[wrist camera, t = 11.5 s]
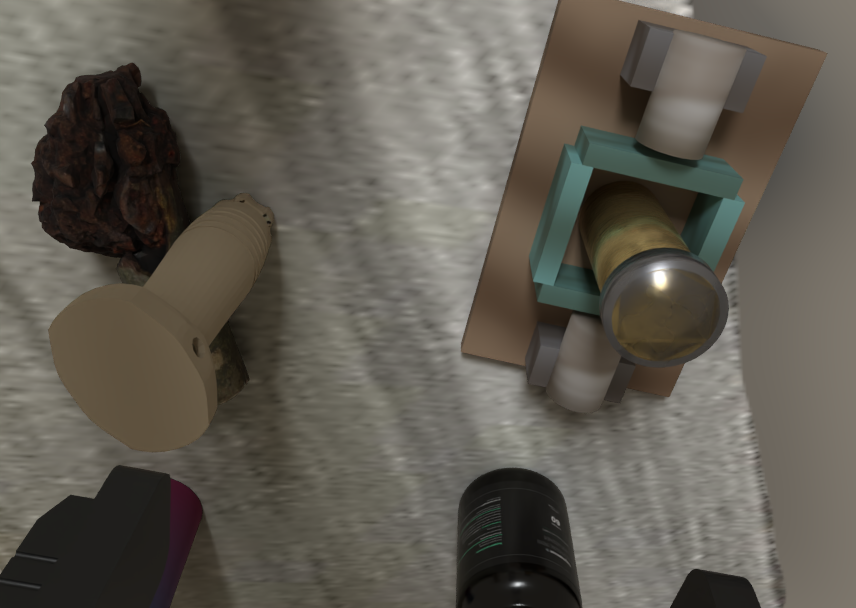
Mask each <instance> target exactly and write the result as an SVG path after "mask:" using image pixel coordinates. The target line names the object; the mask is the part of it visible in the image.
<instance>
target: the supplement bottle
mask: <svg viewBox="0 0 856 608" xmlns="http://www.w3.org/2000/svg"><path fill="white" fill-rule="evenodd" d="M456 608H582V600H581V594H580V587H579V581H578V575H577V568H576V562H575V556H574V549H573V543H572V537H571V531H570V524H569V518H568V513H567V507H566V503H565V500H564V497H563V495H562V493H561V491H560V490H559V489H558V487H557V486H556V485H555V484H554V483H553V482H552V481H551V480H549V479H548V478H546V477H545V476H543V475H541V474H539V473H537V472H534V471H531V470H527V469H522V468H502V469H497V470H494V471H491V472H488V473H486V474H484V475H482V476H480V477H478V478H477V479H476V480H474V481H473V482H472V483H471V484H470V485H469V486H468V487H467V489H466V490H465V491H464V493H463V495H462V497H461V500H460V503H459V510H458V539H457V581H456Z"/></svg>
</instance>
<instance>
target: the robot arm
mask: <svg viewBox="0 0 856 608" xmlns="http://www.w3.org/2000/svg"><path fill="white" fill-rule="evenodd" d="M170 502H171V479H170V475H169V474H167V473H161V472H155V471H150V470H144V469H138V468H133V467H127V466H121V465H118V466H116V467H115V468H114V469H113V470H112V471H111V473H110V474H109V476H108V477H107V479H106V481H105V482H104V484H103V486H102V487H101V489H100V491H99V492H98V494H97V496H96V497H95V499H92V498H86V497H80V496H75V495H70V496H68V497H67V498H66V499H64V500H63V501H62V502H60V503H59V504H58V505H56V506H55V507H53V508H52V509H51V510H49V511H48V512H47V513H45V514H44V515H43V516H41V517H40V518H39V519H38V520H37V521H36V522H35V524H34V525H33V527H32V528H31V530H30V531H29V533H28V534H27V536H26V537H25V539H24V540H23V542H22V543H21V545H20V546H19V547H18V549H17V550H16V555H15V557H12V558H11V559H10V561H9V562H8V564H7V565H6V567H5V568H4V570H3V571H2V573H1V574H0V608H149V607H150V605H151V603H152V600H153V598H154V596H155V594H156V591H157V589H158V587H159V584H160V582H161V579H162V576H163V573H164V569H165V566H166V562H167V557H168V552H169V544H170ZM670 608H761V607H760V604H759V602H758V599H757V597H756V594H755V591H754V589H753V587H752V585H751V584H750V582H749V581H748V580H747V579H746V578H744V577H740V576H734V575H728V574H723V573H717V572H711V571H706V570H700V569H694V570H692V571H691V572H690V573H689V574H688V576H687V577H686V579H685V581H684V583H683V585H682V586H681V588H680V590H679V592H678V594H677V596H676V598H675V599H674V601H673V603H672V605H671V607H670Z"/></svg>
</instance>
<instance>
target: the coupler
mask: <svg viewBox="0 0 856 608" xmlns="http://www.w3.org/2000/svg"><path fill="white" fill-rule="evenodd" d="M579 229H580V233H581V236H582V239H583V242H584V245H585V248H586V251H587V254H588V257H589V260H590V263H591V266H592V269H593V272H594V275H595V278H596V281H597V284H598V287H599V290H600V293H601V294H600V299H599V312H600V317H601V320H602V323H603V327H604V330H605V333H606V336H607V338H608V340H609V342H610V344H611V345H612V347H613V348H614V349H615V350H616V351H617V352H618V353H619V354H620V355H621V356H622V357H624V358H625V359H627V360H629V361H631V362H633V363H635V364H638V365H642V366H646V367H655V368H663V367H671V366H676V365H680V364H683V363H686V362H688V361H691V360H693V359H695V358H697V357H698V356H700V355H701V354H703V353H704V352H705V351H707V350H708V349H709V348H710V347H711V346H712V345H713V344H714V343H715V342H716V340H717V339H718V338H719V336H720V335H721V333H722V331H723V330H724V327H725V325H726V322H727V318H728V310H729V306H728V299H727V294H726V292H725V290H724V287H723V286H722V284H721V283H720V281H719V280H718V278H717V277H716V275H715V274H714V272H713V271H712V269H711V268H710V267H709V265H708V264H707V263H706V262H705V261H704V260H702V259H701V258H700V257H698V256H697V255H695V254H693V253H691V252H690V250H689V248H688V247H687V245H686V244H685V242H684V241H683V239H682V238H681V236H680V234H679V233H678V231H677V230H676V228H675V227H674V225H673V223H672V222H671V220H670V219H669V217H668V216H667V214H666V212H665V211H664V209H663V208H662V206H661V205H660V203H659V202H658V200H657V198H656V197H655V195H654V194H653V193H652V192H651V191H650V190H649V189H648V188H646V187H645V186H643V185H641V184H639V183H636V182H632V181H615V182H611V183H608V184H605V185H603V186H601V187H600V188H598V189H596V190H595V191H594V192H593V193H592V194H591V195H590V196H589V197H588V198H587V199H586V201H585V202H584V204H583V206H582V208H581V211H580V215H579Z"/></svg>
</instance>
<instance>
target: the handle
mask: <svg viewBox="0 0 856 608" xmlns="http://www.w3.org/2000/svg"><path fill="white" fill-rule="evenodd" d="M273 221H274V215H273V212H272V211H271V209H270V208H269V207H264V206H262V205H260V204H258V203H257V202H256V201H255V200H253V198H252V197H251V195H250V194H247V193H240V194H239V195H237V196H236V197H235V198H234V199H231V200H221V201H219V202H218V203H217V204H215V205H214V206H213V207H212V208H211V209H209V210H208V211H206V212H205V213H204V214H202V215H201V216H200V217H198V218H197V219H196V220H195V221H194V222H192V223H191V224H190V225H189V226H188V227H187V228H186V230H185V231H184V232H183V233H182V234H181V235H180V236H179V237H178V239H177V240H176V241H175V242H174V244H173V245H172V247H171V248H170V249H169V251H168V252H167V254H166V255H165V257H164V258H163V260H162V261H161V263H160V264H159V265H158V267H157V268H156V270H155V271H154V273H153V274H152V276H151V277H150V278H149V280H148V281H147V282H146V284H145V285H144V286H143V287H141V286H137V285H132V284H122V283H121V284H110V285H106V286H102V287H98V288H95V289H93V290H91V291H88V292H86V293H84V294H82V295H81V296H79V297H78V298H77V299H75V300H74V301H73V302H71V303H70V304H69V305H68V306H67V307H66V308H65V309H64V310H63V311H62V312H60V313H59V314H58V316H57V317H56V318H55V319H54V321H53V322H52V324H51V326H50V328H49V329H48V332H49V338H50V343H51V349H52V354H53V359H54V364H55V367H56V370H57V373H58V375H59V377H60V379H61V381H62V382H63V384H64V386H65V387H66V389H67V390H68V391H69V393H70V394H71V396H72V397H73V398H74V400H75V401H76V403H77V404H78V405H79V407H80V408H81V409H82V411H83V412H84V413H85V414H86V415H87V416H88V418H89V419H90V420H91V421H93V422H94V423H95V424H96V425H97V426H99V427H100V428H101V429H103V430H104V431H106V432H107V433H108V434H110V435H111V436H113V437H114V438H116V439H117V440H119V441H120V442H122V443H123V444H125V445H126V446H128V447H129V448H131V449H134V450H139V451H145V452H165V451H170V450H174V449H178V448H181V447H183V446H186V445H189V444H190V443H192V442H194V441H195V440H197V439H198V438H199V437H200V436H201V435H202V434H203V433H204V432H205V431H206V429H207V428H208V426H209V425H210V423H211V421H212V419H213V417H214V415H215V413H216V410H217V383H216V374H215V369H214V363H213V359H212V355H211V352H210V348H209V345H210V344H211V342H212V341H213V340H214V338H215V337H216V335H217V334H218V333H219V331H220V330H221V329H222V327H223V326H224V324H225V323H226V322H227V321H228V319H229V318H230V317H231V315H232V314H233V313H234V311H235V310H236V309H237V307H238V306H239V305H240V304H241V302H242V301H243V300H244V298H245V297H246V296H247V294H248V293H249V292H250V290H251V288H252V287H253V285H254V283H255V282H256V280H257V278H258V276H259V274H260V272H261V270H262V267H263V265H264V262H265V260H266V257H267V254H268V250H269V247H270V245H271V241H272V236H271V233H270V228H271V226H272V224H273Z"/></svg>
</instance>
